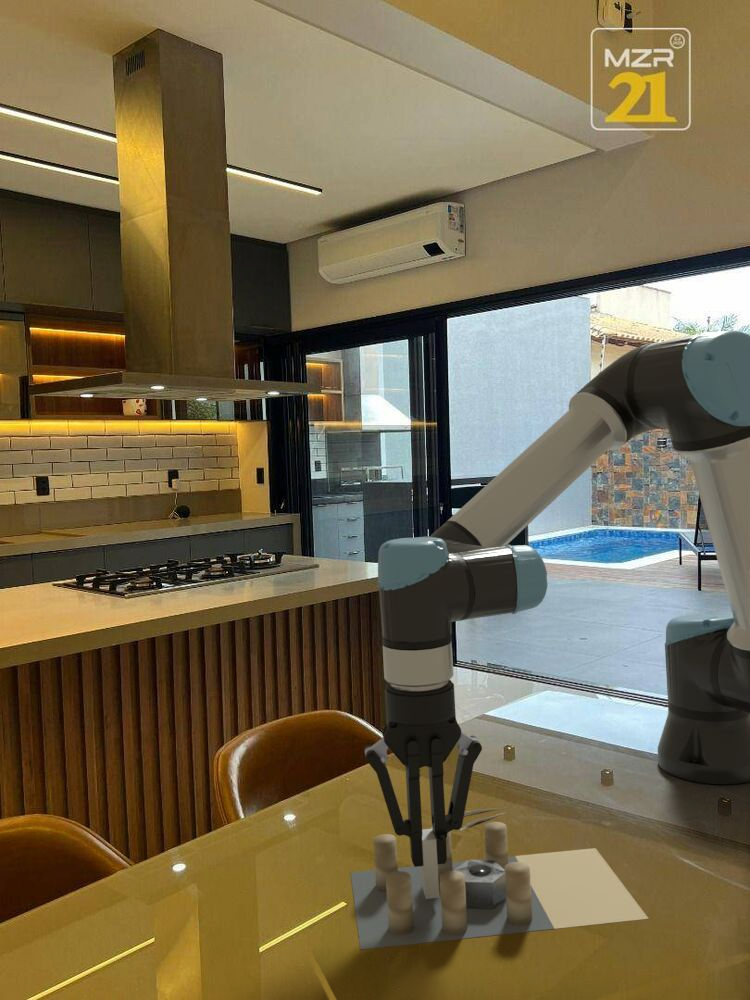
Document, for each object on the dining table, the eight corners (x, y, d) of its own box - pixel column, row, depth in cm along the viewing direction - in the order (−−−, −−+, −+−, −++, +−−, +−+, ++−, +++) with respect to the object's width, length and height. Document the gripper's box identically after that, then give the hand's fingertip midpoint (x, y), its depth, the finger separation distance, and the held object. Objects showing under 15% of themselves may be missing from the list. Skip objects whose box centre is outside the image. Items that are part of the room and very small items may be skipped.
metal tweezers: (455, 841, 112) (455, 826, 112) (437, 828, 116) (437, 813, 116) (564, 818, 120) (564, 804, 120) (544, 807, 124) (544, 793, 124)
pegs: (504, 864, 103) (502, 819, 103) (536, 926, 89) (534, 875, 89) (374, 877, 102) (371, 831, 101) (386, 942, 88) (383, 890, 88)
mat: (595, 852, 106) (595, 848, 106) (648, 924, 90) (648, 918, 90) (350, 877, 103) (350, 872, 103) (360, 955, 87) (360, 949, 87)
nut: (489, 880, 99) (487, 854, 99) (514, 904, 94) (512, 876, 94) (449, 890, 98) (448, 863, 98) (472, 915, 92) (471, 887, 92)
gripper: (471, 667, 98) (481, 869, 100) (356, 676, 97) (368, 881, 99) (485, 685, 91) (496, 903, 92) (361, 695, 90) (374, 916, 91)
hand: (430, 891), depth 95 cm, fingers closed
